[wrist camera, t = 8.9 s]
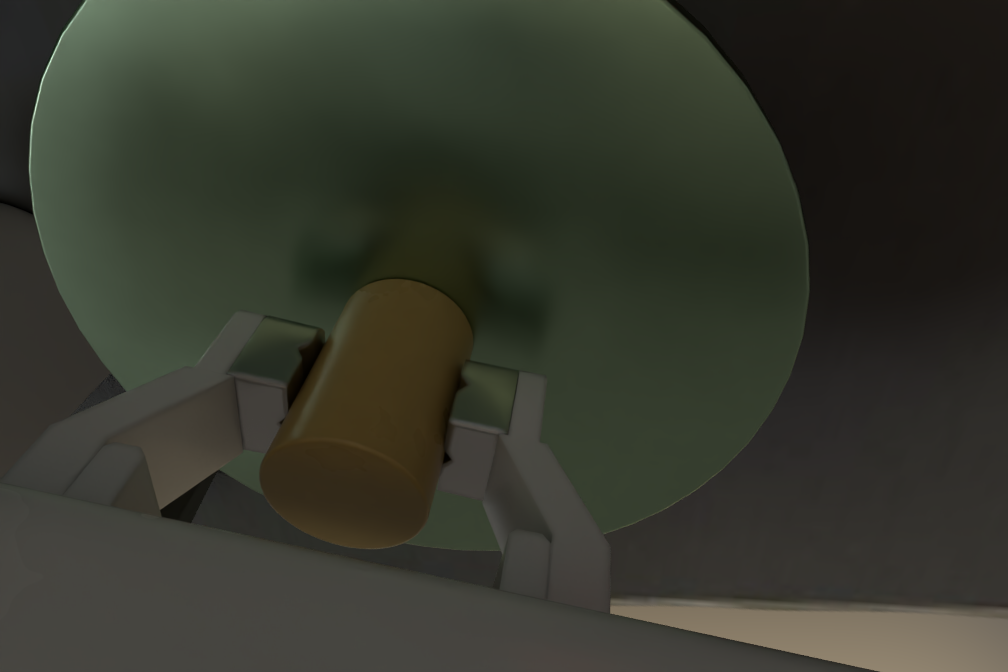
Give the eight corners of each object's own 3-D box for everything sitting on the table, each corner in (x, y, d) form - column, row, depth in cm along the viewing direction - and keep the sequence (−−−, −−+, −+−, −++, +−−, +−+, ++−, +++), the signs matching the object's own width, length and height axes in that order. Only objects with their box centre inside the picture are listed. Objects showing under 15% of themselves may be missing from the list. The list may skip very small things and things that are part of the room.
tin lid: (979, -5, 9) (1250, 146, 5) (655, 559, 19) (665, 768, 15) (-46, -230, 9) (-554, -248, 5) (142, 448, 19) (11, 628, 15)
